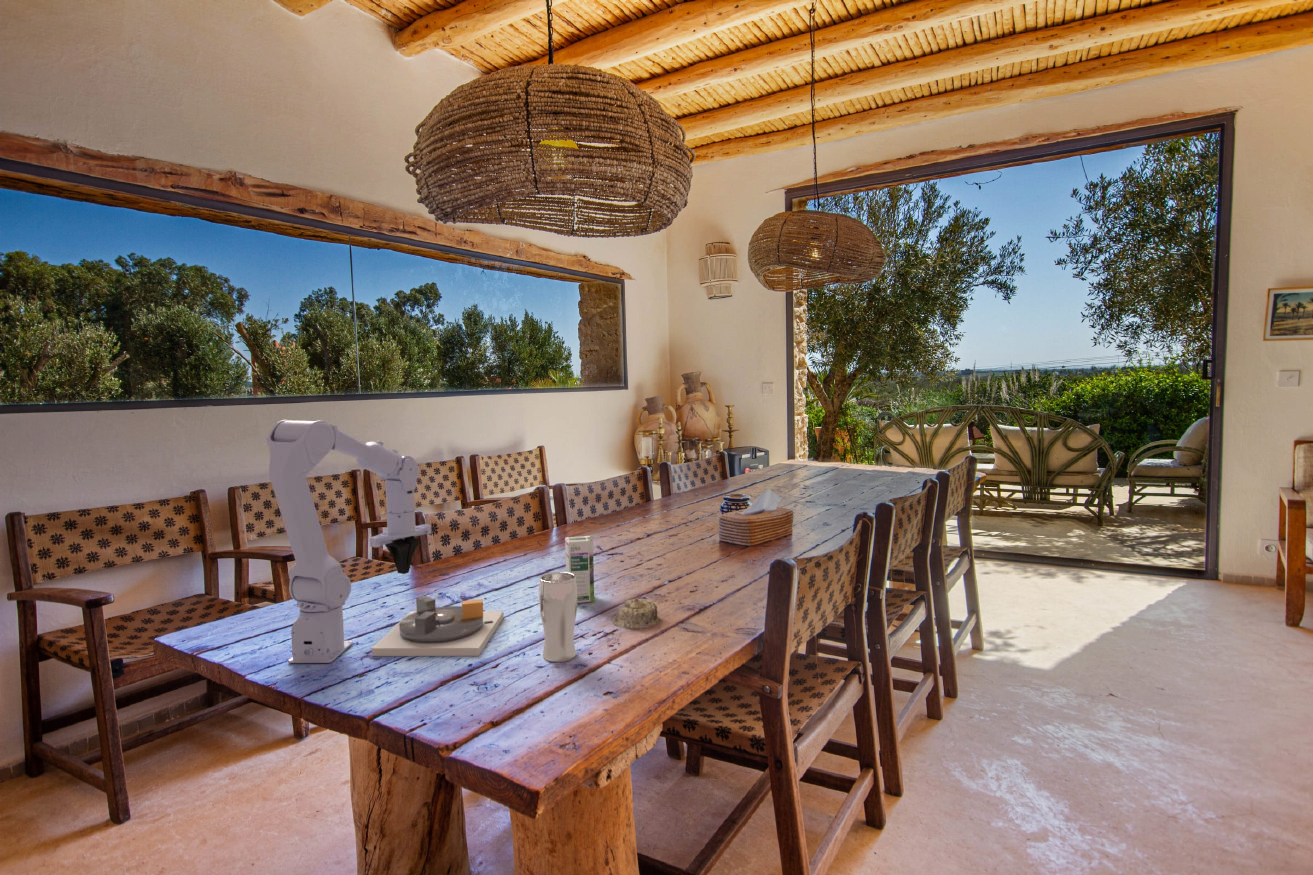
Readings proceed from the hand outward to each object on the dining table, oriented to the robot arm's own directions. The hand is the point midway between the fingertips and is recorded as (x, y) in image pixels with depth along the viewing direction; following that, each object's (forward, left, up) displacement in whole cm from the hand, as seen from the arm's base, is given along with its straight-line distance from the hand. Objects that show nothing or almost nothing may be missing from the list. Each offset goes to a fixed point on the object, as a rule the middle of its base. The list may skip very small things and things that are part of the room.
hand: (403, 572), depth 150 cm
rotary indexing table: (-12, -12, -8) cm, 19 cm away
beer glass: (-22, -37, -10) cm, 44 cm away
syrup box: (+10, -37, -10) cm, 40 cm away
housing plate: (-12, -12, -9) cm, 19 cm away
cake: (-4, -51, -10) cm, 52 cm away
